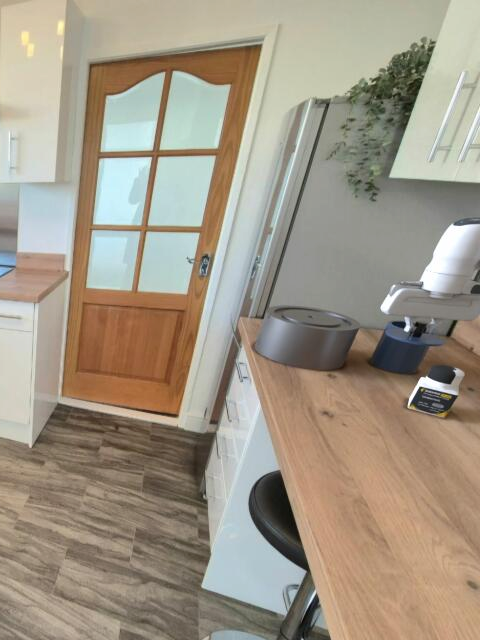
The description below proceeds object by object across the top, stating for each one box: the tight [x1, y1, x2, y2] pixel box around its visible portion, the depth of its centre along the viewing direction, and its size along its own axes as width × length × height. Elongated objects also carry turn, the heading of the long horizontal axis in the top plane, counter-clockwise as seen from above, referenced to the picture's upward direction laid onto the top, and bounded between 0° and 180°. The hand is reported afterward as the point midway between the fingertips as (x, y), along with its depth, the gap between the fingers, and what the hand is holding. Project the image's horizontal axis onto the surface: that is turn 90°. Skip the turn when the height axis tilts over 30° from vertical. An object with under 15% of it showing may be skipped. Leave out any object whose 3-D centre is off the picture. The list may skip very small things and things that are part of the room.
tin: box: [369, 320, 439, 375], centre depth 135 cm, size 11×11×14 cm
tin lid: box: [385, 320, 446, 347], centre depth 119 cm, size 12×12×5 cm
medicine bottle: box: [407, 364, 465, 419], centre depth 111 cm, size 7×7×12 cm
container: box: [254, 305, 361, 371], centre depth 143 cm, size 25×25×13 cm
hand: (416, 332), depth 119 cm, fingers closed on tin lid, 2 cm apart
